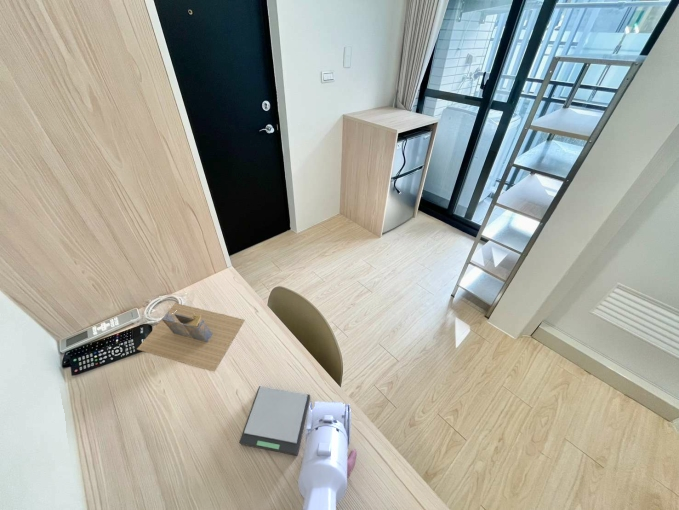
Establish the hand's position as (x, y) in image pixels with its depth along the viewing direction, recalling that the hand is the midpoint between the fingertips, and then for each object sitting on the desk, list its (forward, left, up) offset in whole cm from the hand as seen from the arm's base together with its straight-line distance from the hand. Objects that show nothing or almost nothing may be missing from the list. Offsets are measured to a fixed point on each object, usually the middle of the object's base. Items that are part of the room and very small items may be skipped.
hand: (332, 453), depth 56 cm
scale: (+5, +14, -3) cm, 15 cm away
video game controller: (0, 0, -4) cm, 4 cm away
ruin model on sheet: (+23, +46, -3) cm, 51 cm away
